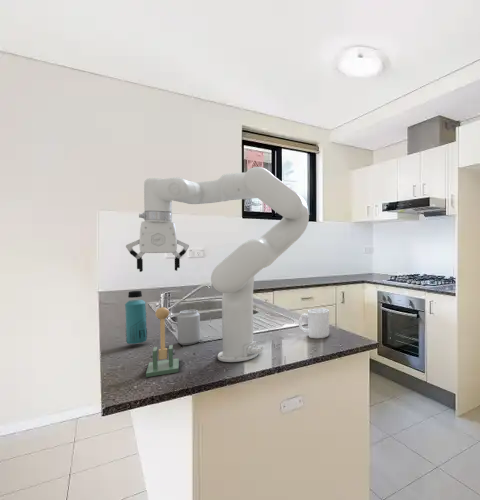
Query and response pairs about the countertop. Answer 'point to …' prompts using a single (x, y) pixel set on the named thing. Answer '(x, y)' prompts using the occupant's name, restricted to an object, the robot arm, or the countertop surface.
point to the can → (188, 327)
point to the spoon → (162, 331)
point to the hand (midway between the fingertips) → (158, 270)
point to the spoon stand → (162, 364)
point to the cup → (316, 323)
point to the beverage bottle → (135, 319)
